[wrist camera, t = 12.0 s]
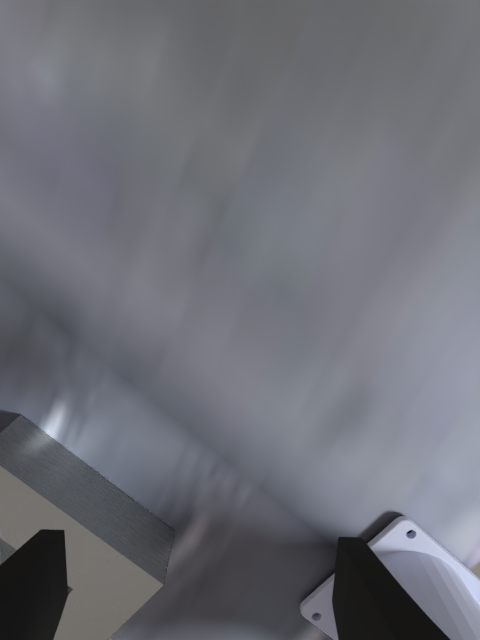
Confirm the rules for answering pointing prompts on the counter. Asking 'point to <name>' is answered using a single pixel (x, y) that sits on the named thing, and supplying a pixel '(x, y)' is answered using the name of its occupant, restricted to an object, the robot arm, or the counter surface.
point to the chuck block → (81, 531)
